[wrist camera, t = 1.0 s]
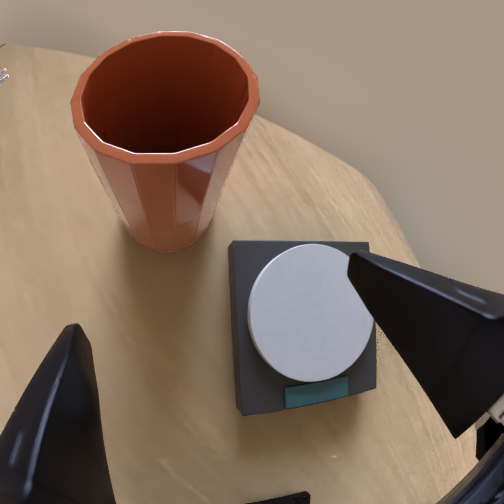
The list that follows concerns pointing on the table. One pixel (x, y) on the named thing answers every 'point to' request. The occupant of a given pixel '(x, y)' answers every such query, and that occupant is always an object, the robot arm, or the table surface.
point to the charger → (3, 77)
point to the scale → (297, 325)
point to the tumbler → (165, 130)
